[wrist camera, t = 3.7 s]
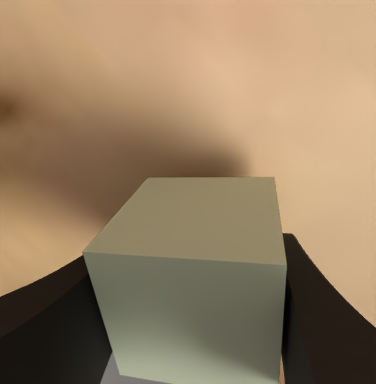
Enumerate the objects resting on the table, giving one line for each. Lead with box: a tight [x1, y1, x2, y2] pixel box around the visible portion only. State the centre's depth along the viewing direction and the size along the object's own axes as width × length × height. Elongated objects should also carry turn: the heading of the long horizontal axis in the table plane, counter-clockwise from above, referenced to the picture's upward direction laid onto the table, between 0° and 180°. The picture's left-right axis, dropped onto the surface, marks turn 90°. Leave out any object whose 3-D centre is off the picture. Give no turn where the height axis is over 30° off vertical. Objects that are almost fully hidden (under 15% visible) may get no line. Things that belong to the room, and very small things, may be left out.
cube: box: [83, 177, 287, 384], centre depth 10 cm, size 5×5×5 cm
